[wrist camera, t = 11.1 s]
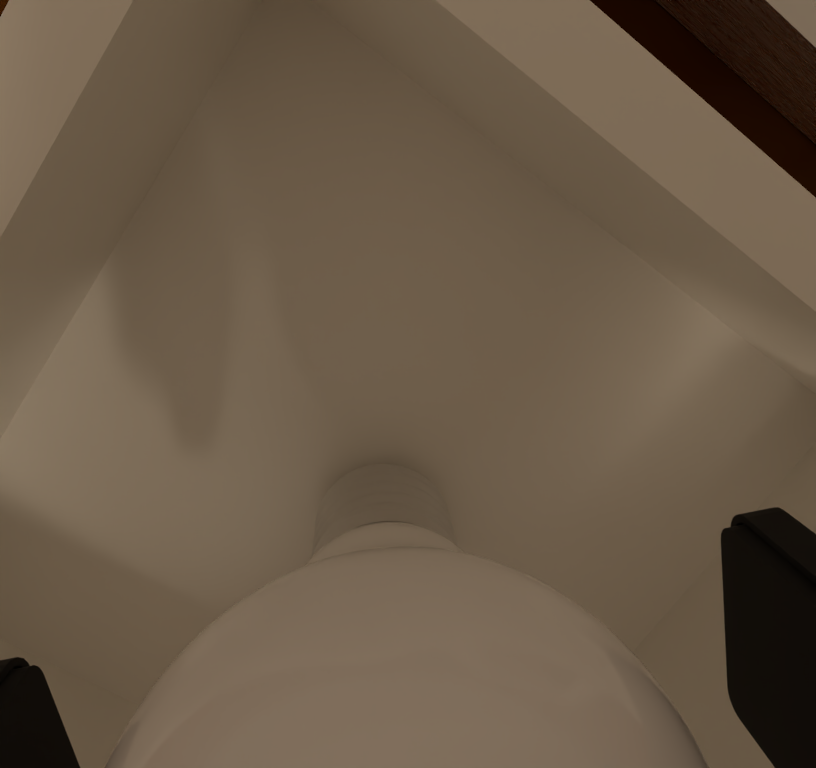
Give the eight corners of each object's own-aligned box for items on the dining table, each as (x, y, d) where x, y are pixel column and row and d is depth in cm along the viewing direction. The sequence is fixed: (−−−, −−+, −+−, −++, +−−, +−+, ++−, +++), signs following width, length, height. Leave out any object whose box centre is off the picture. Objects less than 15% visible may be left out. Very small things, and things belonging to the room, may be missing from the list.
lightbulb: (268, 325, 13) (-80, 920, 3) (574, 409, 14) (1197, 1092, 4) (198, 605, 15) (-184, 1642, 4) (477, 663, 16) (711, 1637, 5)
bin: (870, 388, 16) (1167, 505, 10) (456, 861, 19) (504, 1161, 13) (265, -99, 12) (190, -348, 6) (-131, 581, 15) (-424, 825, 9)
